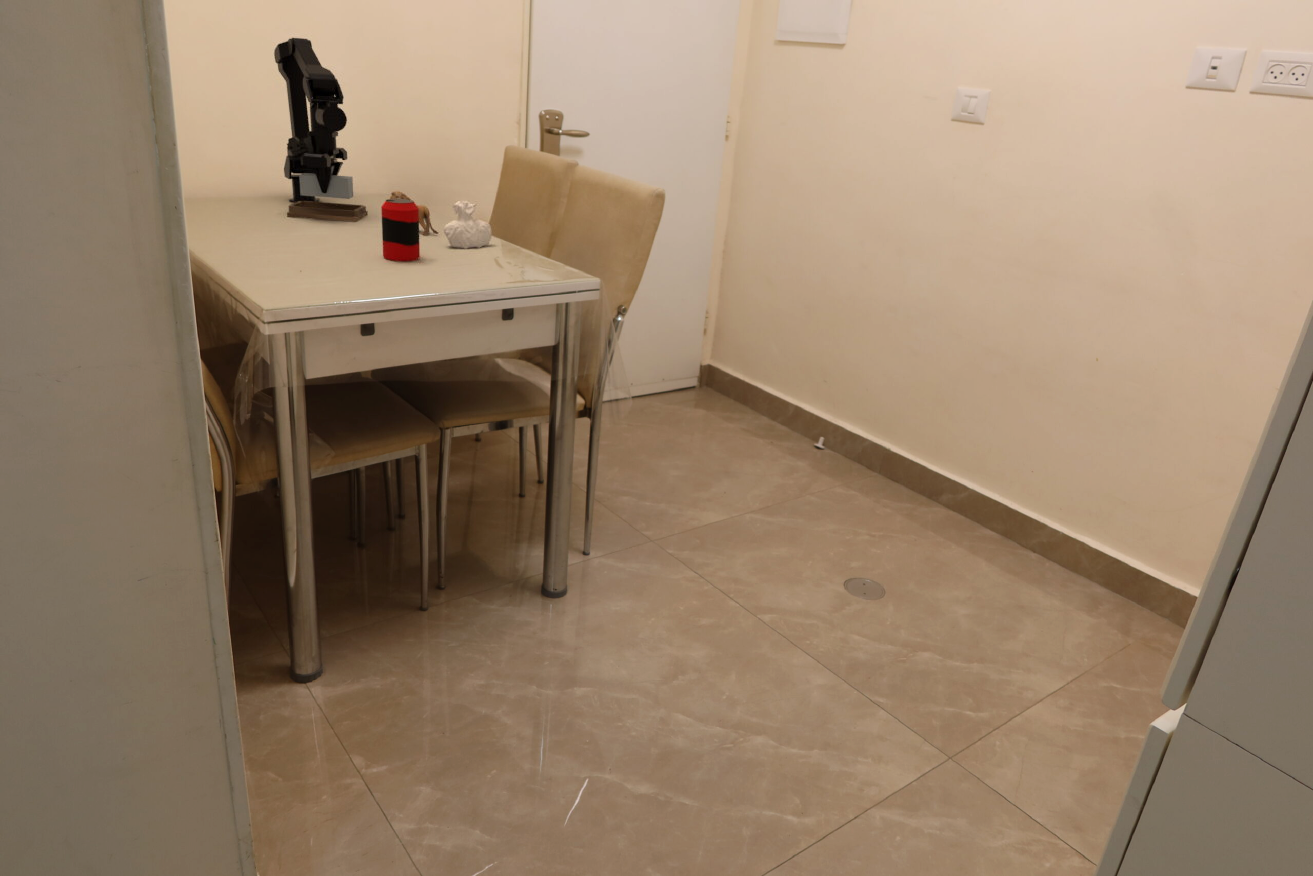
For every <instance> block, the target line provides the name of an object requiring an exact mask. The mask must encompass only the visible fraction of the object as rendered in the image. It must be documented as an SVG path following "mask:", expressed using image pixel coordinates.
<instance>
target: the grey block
mask: <svg viewBox="0 0 1313 876" xmlns="http://www.w3.org/2000/svg"><path fill="white" fill-rule="evenodd" d="M299 179H300V194H301V195H303V196H315V198H328V199H329V198H332V199H343V200H351V198H353V197H354V183H353V181H354V180H353V176H348V175H338V176H337V175H332V176H331V180H330V183H329V187H328V190H327V193H322V191H321V189H320V186H319V183H318V180H317V177H316V174H312V173H303V174H300V175H299Z"/></svg>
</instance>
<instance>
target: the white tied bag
mask: <svg viewBox="0 0 1313 876" xmlns="http://www.w3.org/2000/svg"><path fill="white" fill-rule="evenodd" d="M476 206H477V203H471V202H469V201H468V200H458V201H457V202H455V204H453V205H452V208H453V212H454V215H458V217H457V220H455V219H454V220H451V221H450V222H449V223H446V224H445V226H444V227H443V233H444V235H445V236H446V238H447V240H448V244H449V245H450V246H451V248H452V247H453V248H459V249H460V248H461V249H464V250H467V249H468V248H478V249H479V248H481V247H483V246H487V245H489V244H490V242H491V240H492V228H491V225H490V224H489V223H488V222H487V221H483V220H479V219H474V218H473V214H474V212H476V209H477V208H476Z"/></svg>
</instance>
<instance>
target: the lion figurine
mask: <svg viewBox="0 0 1313 876" xmlns="http://www.w3.org/2000/svg"><path fill="white" fill-rule="evenodd" d="M389 199H408V200H412V199H411V198H410V197H408V196H407V195H406V194H405V193H403V192H401V191H400V190H399V191H397V190H396V191H395V190H394V191H392V192H391V196H390V197H389ZM416 205H417V204H416ZM417 207H418V208H419V226H421V227H422V229H423V232H422V235H423V236H428V234H429V233H430V230H431V231H432V232H433V234H436V235H439V232H438V231H437V230H435V229H434V228H433V226H432V223H431V218H430V210H429V208H428V207H427V206H426V205H423V204H419V205H417Z"/></svg>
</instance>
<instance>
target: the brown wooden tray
mask: <svg viewBox="0 0 1313 876" xmlns="http://www.w3.org/2000/svg"><path fill="white" fill-rule="evenodd" d="M367 216H368V210H367V206H366V205H363V204H350V203H337V202H327V201H325V202H323V201H317V202H313V201H298V202H292V203H291V204H289V205H288V212H287V211H286V217H287V218H297V217H298V218H299V219H310V218H313V219H315V220H325V221H326V220H327V221H336V222H337V221H340V222H350V223H351V222H352V223H353V222H354V223H356V222H357V223H358V221H360V220H362V219H363V218H365V217H367Z"/></svg>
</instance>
